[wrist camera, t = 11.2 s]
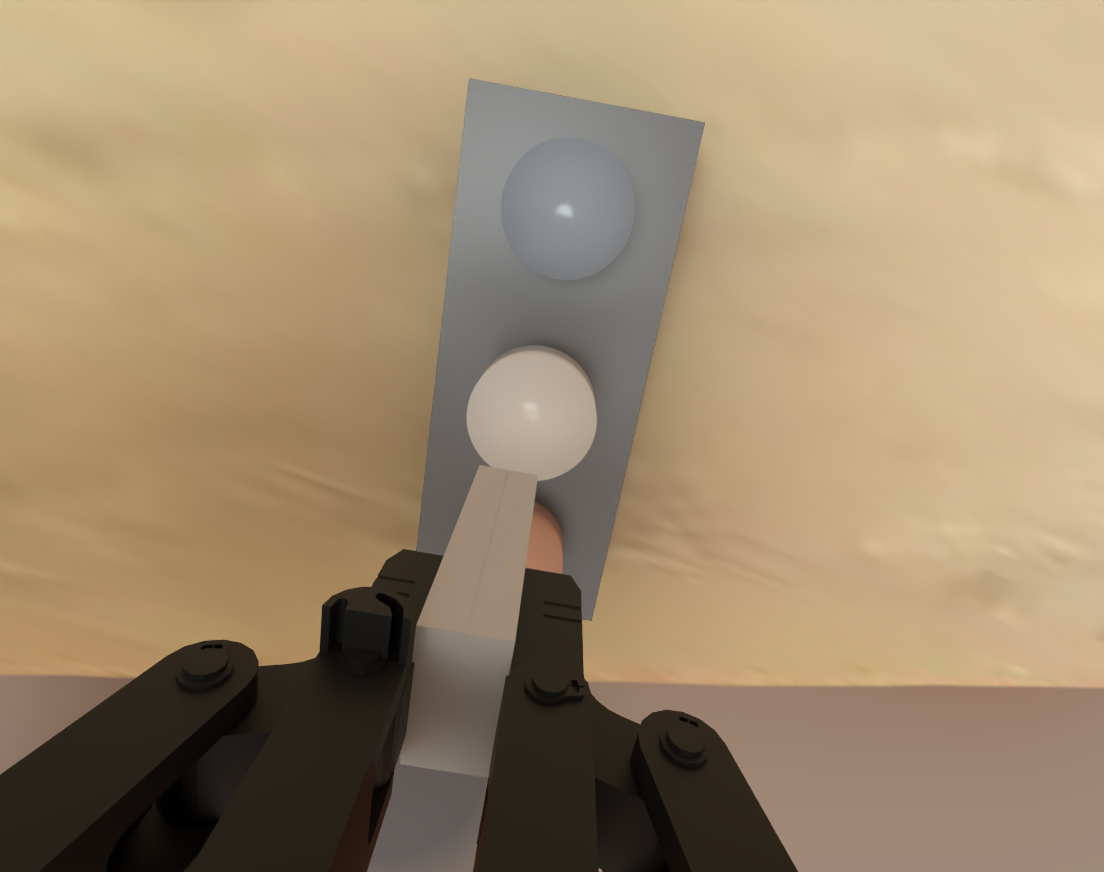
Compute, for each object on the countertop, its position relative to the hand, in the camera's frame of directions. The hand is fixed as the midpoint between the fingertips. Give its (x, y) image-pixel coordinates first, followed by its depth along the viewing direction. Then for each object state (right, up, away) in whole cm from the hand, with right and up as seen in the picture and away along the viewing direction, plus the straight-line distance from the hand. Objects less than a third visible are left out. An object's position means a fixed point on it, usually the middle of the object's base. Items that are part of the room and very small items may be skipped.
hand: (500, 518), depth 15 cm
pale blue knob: (+2, +13, +15) cm, 20 cm away
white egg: (+1, +5, +16) cm, 16 cm away
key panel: (+1, +6, +19) cm, 20 cm away
